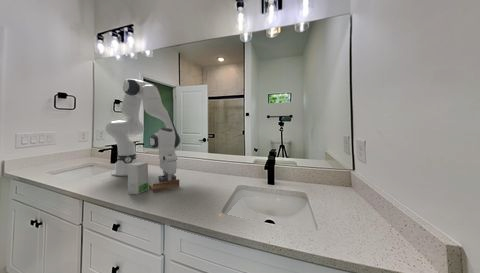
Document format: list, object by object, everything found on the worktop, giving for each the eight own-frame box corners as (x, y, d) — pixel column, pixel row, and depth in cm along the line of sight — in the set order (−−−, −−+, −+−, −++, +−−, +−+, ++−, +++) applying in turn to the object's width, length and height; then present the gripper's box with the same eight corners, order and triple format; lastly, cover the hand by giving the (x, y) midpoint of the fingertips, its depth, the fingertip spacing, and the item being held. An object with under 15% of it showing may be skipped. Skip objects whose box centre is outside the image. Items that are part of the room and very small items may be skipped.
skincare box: (137, 194, 93) (137, 165, 92) (127, 193, 94) (126, 164, 93) (149, 189, 101) (148, 162, 100) (139, 188, 102) (138, 161, 101)
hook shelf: (148, 186, 105) (148, 172, 105) (172, 181, 114) (172, 168, 114) (153, 192, 96) (153, 177, 95) (179, 187, 105) (179, 172, 104)
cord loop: (158, 181, 106) (158, 176, 106) (172, 178, 111) (172, 173, 111) (161, 184, 101) (161, 178, 101) (176, 181, 106) (176, 176, 106)
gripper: (156, 153, 111) (157, 175, 112) (166, 158, 95) (167, 184, 96) (167, 152, 115) (167, 173, 116) (178, 157, 99) (178, 181, 100)
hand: (167, 178), depth 106 cm, fingers closed on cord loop, 6 cm apart
